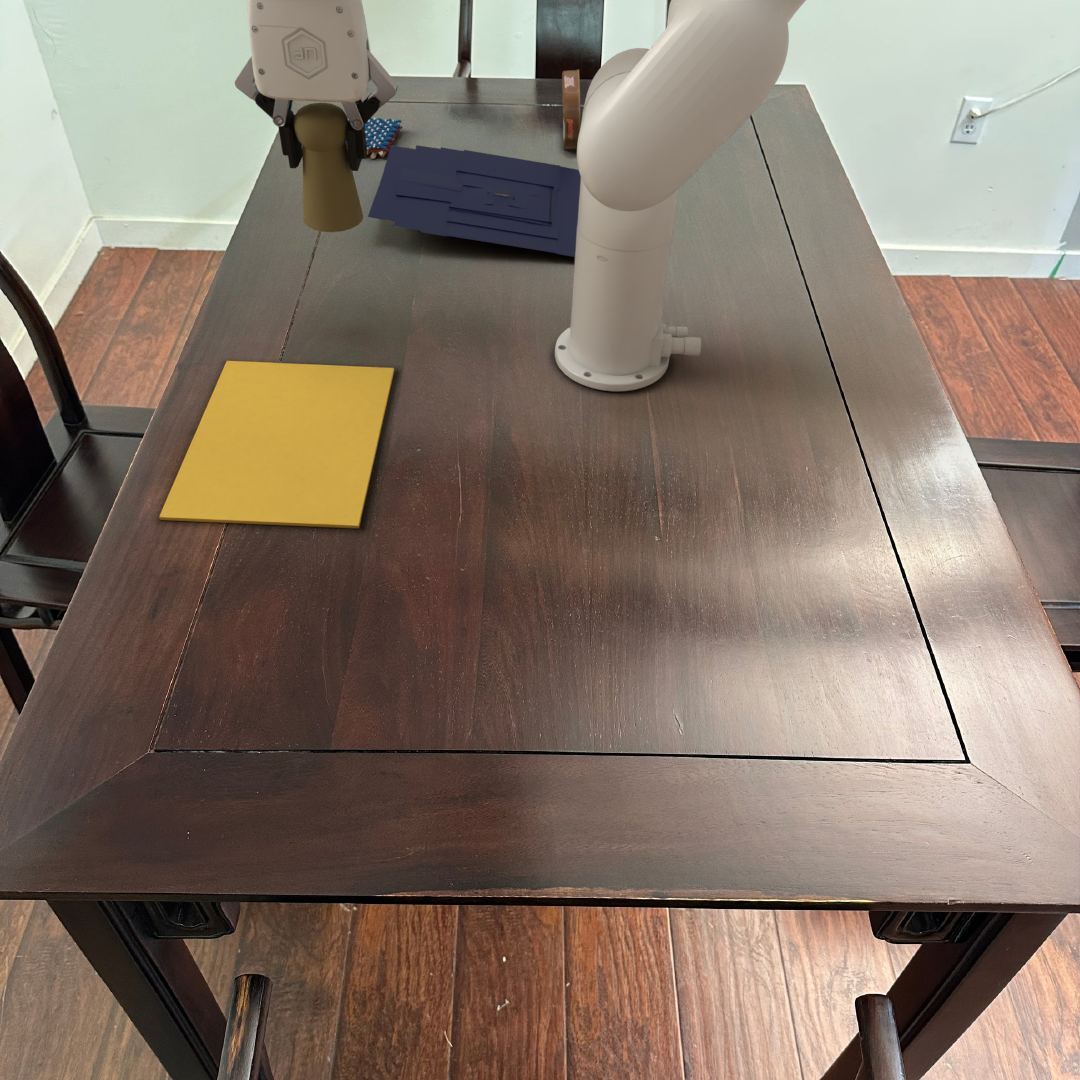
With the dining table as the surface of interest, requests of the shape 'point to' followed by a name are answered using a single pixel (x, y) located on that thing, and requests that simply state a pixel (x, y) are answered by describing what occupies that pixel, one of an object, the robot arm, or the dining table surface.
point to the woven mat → (380, 135)
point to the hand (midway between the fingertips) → (326, 161)
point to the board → (283, 446)
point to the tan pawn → (326, 169)
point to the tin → (571, 108)
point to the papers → (480, 198)
